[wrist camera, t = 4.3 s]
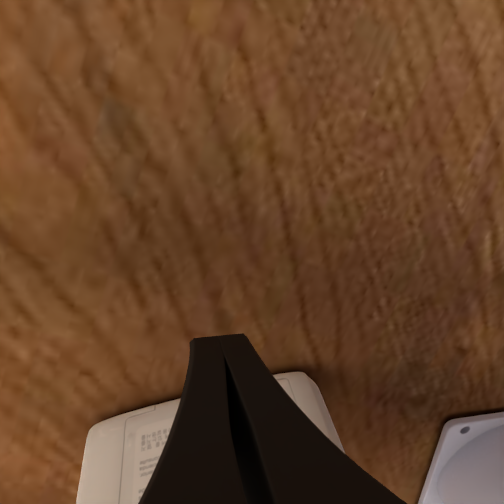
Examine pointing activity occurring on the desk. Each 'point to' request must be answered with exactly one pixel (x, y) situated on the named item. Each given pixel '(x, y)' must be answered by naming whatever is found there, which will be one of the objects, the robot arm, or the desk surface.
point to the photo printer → (163, 443)
